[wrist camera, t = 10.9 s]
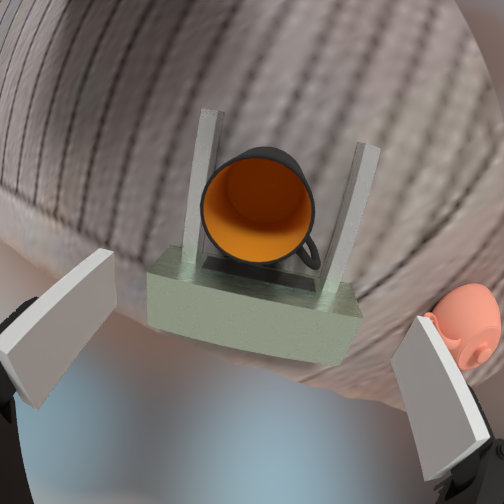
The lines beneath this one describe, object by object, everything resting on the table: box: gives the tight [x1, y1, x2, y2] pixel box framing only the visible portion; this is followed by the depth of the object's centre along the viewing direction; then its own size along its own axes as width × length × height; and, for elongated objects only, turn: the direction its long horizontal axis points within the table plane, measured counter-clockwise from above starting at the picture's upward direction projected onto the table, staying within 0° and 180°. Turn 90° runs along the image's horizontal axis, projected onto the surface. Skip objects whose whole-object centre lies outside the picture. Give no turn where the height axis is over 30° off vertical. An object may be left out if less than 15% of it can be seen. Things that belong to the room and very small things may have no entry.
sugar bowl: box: [422, 283, 501, 370], centre depth 29 cm, size 12×14×10 cm
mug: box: [200, 147, 321, 270], centre depth 25 cm, size 8×12×10 cm
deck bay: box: [147, 109, 381, 366], centre depth 28 cm, size 23×22×7 cm
